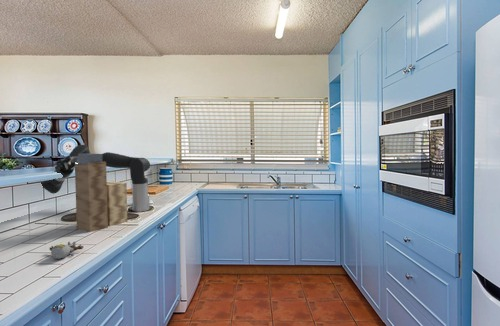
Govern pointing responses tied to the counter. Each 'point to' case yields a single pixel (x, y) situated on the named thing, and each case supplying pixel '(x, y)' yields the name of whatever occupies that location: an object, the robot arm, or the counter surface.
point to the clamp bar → (87, 158)
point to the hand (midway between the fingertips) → (76, 157)
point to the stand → (91, 196)
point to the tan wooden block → (116, 203)
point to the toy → (64, 250)
